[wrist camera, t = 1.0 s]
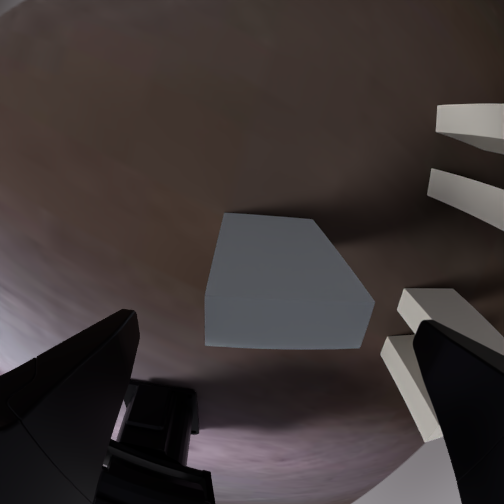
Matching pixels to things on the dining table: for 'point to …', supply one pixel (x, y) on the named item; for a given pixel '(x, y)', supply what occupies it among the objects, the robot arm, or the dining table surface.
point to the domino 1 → (282, 288)
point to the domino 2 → (411, 384)
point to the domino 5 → (448, 314)
